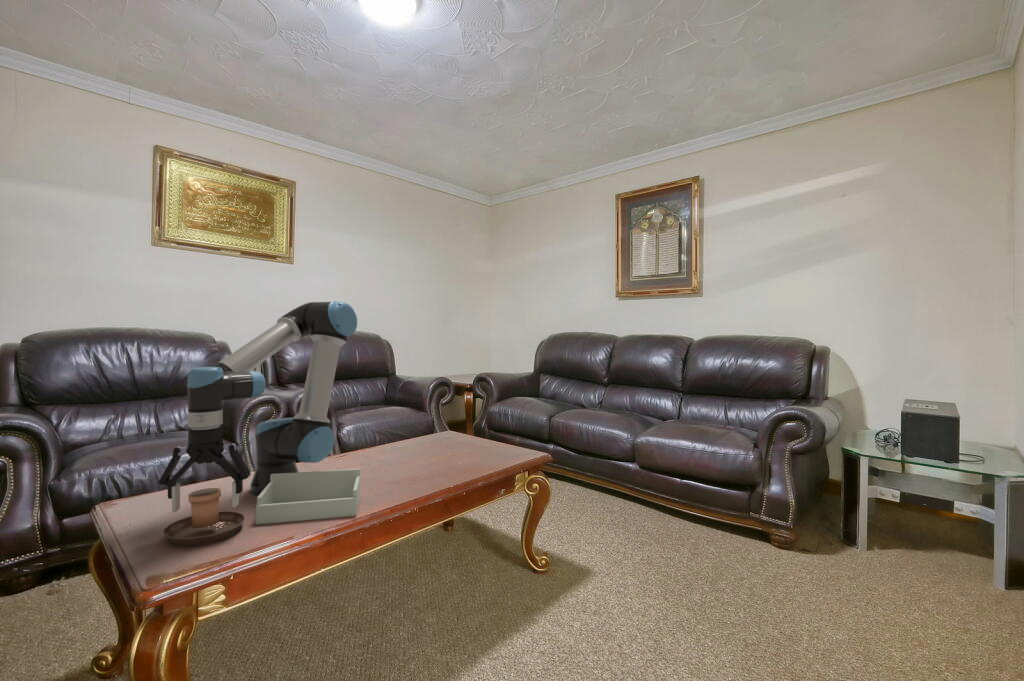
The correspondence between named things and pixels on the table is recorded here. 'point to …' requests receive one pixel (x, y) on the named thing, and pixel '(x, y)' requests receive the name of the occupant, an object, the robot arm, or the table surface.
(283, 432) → the robot arm
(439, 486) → the table surface
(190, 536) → the plant saucer
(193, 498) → the terracotta pot
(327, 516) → the frame
